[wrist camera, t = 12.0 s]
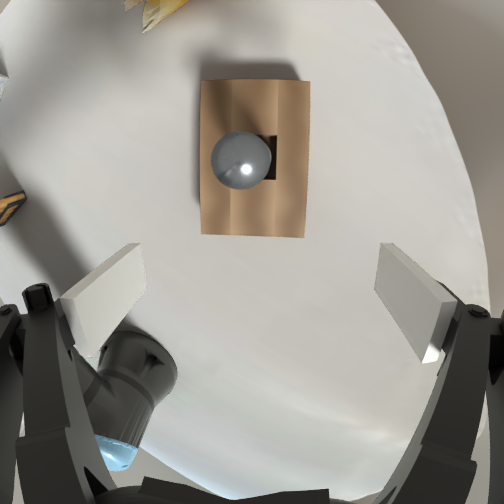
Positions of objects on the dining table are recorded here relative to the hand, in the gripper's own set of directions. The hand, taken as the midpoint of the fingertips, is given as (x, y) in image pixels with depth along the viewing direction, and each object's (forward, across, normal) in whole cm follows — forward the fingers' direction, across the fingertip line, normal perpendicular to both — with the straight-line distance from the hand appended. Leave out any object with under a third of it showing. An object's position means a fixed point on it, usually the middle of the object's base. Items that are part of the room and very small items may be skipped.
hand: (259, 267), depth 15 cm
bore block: (+23, -1, +5) cm, 24 cm away
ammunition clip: (+24, -47, +1) cm, 53 cm away
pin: (+22, -1, +5) cm, 22 cm away
